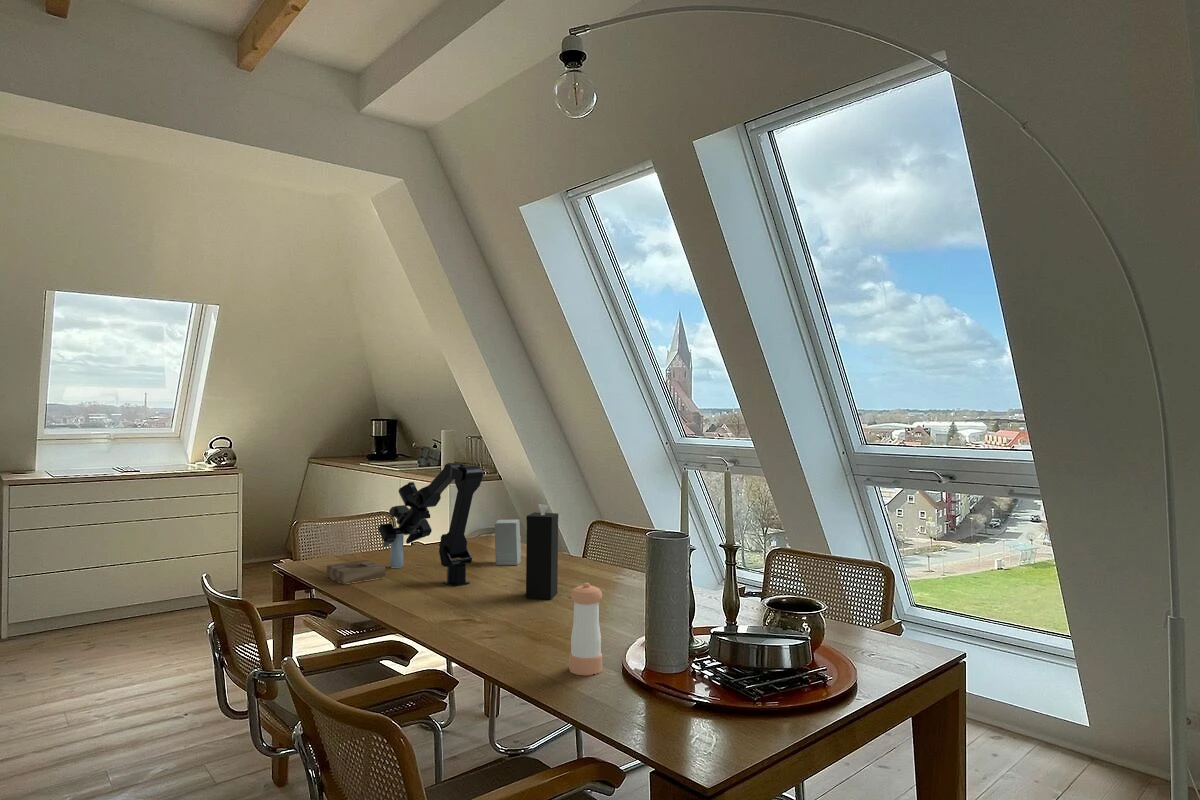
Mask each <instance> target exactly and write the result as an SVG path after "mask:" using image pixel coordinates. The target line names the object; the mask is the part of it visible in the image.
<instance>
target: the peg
mask: <svg viewBox="0 0 1200 800" xmlns="http://www.w3.org/2000/svg"><path fill="white" fill-rule="evenodd" d="M393 528H399V526H393ZM389 546H390V548H389V549H390V551H389V552H390V553H389V554H390V555H389V557H390V558H389V561H390V562H389V564H390V565H389V566H391V567H402V566H403V567H404V534H401V535H396V539H395V540H394V542H393V543H391V544H390V545H389Z"/></svg>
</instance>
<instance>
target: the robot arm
mask: <svg viewBox="0 0 1200 800" xmlns="http://www.w3.org/2000/svg"><path fill="white" fill-rule="evenodd" d="M483 478H484V471H483V469H482V468H481V466H479V465H478V464H472V465H470V464H463V463H461V462H448V463H445V464H444V467H443V468H442V470H440V472H439V473H437V475H436V476H435V477H434V478H433V480H432V481H431V482H430V483H429V484H428V485H427V486H423V487H421V488H420V489H419V490H418V489H417V487H416V484H415V482H414V481H408V482H407V483H406V484H404V485H403V486H401V487H400V488H399V489H398V494H399V496H400V498H401V501H402V502H403V504H402V505H395V506H391V507H390V509H389V512H388V513H389V515H390V516H391V517H392V518H395V519H396V521H395V522H396V523H397V525H398V527H399V528H393V527H394V526H393V524H392V523H390V522H387V523H380V525H379V527H378V529H377V530H378V532H379V534H380V536H381V538H382V541H383V542H382V543H383V548H386V547H389V546H390V544H391V543H393V542H394V540H395V539H396V535H401V534H403V536H408V537H407V538H406V540H405V543H406V544H407V545H409V544H411V543H413V542H415V541H417V540H421V539H423V538H425V537H428V536H430V535H431V533H432V530H433V529H432V527H431V525H430V523H429V521H428V520H427V519H430V518H431V514H430V511H429V508H434V507H436V506H437V505H438V503H439V502H440V501H441V499H442V497H441V496H442V495H441V494H442V493H443V492H444V491H445V490H446V489H447V488H448V486H449V485H450V484H451V483H452V482H453V481H454V485H455V486H456V490H457V492H456V497H455V502H454V505H453V506H454V507H453V512H452V516H451V521H450V526H449V529H448V532H447V533H443V534H442V535H441V536H440V541H439V544H438V547H439V550H438V554H439V559H440V563H441V566H443V567H444V568H445V567H447V568H446V580H443V581H442V583H443V584H445V583H446V585H448V586H450V585H451V587H457V586H463V585H469V584H470V583H471V582H470V581H468V580H467V579H466V578H467V577H466V576H467V573H466V572H467V571H466V569H467V566H466V565H467V564H472V562H473V556H472V554H471V552H470V551H469V549H468V547H467V546H468V540H467V538H466V536H465V535H466V534H465V532H466V527H467V524H468V518H469V514H470V510H471V505H472V500H473V497H474V494H475V492H476V491H477V490H478V489H479V487H481V483H482V480H483Z"/></svg>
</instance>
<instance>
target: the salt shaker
mask: <svg viewBox="0 0 1200 800" xmlns="http://www.w3.org/2000/svg"><path fill="white" fill-rule="evenodd" d="M602 598H603V592H602V591H601V589H600V588H599V587H597V586H595V585H591V584H590V583H589V582H584V583H583V584H582V585H578V586H576V587H574V588H573V589H572V591H571V592H570V599H571V601H572V602H573V623H572V624H573V625H572V630H571V635H570V650H571V651H570V652H569V655H568V658H569V659H568V660H569V663H568V664H569V665H568V666H569V672H570V673H571V674H575V675H577V676H578V675H579V676H594V675H593V674H595V675H598V674H601V672H602V671H603V654H602V651H601V649H602V648H601V647H602V636H601V635H602V634H601V628H600V621H599V619H600V618H599V617H600V615H599V612H600V611H599V607H600V602H601V601H602ZM597 673H598V674H597Z"/></svg>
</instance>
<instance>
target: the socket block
mask: <svg viewBox="0 0 1200 800" xmlns="http://www.w3.org/2000/svg"><path fill="white" fill-rule="evenodd" d="M327 577H329V578H331V579H334V580H336V581H338V582H340V583H343V584H346V583H352V582H358V581H364V580H370V579H376V578H383V577H385V578H386V566H384V565H382V564H378V563H376V562H373V561H371V560H368V559H364V560H357V561H349V562H342V563H336V564H335V563H334V564H327V565H326V578H327ZM329 578H328V579H329ZM331 579H330V580H331ZM334 580H333V581H334ZM336 581H335V582H336ZM338 582H337V583H338ZM340 583H339V584H340Z"/></svg>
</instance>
